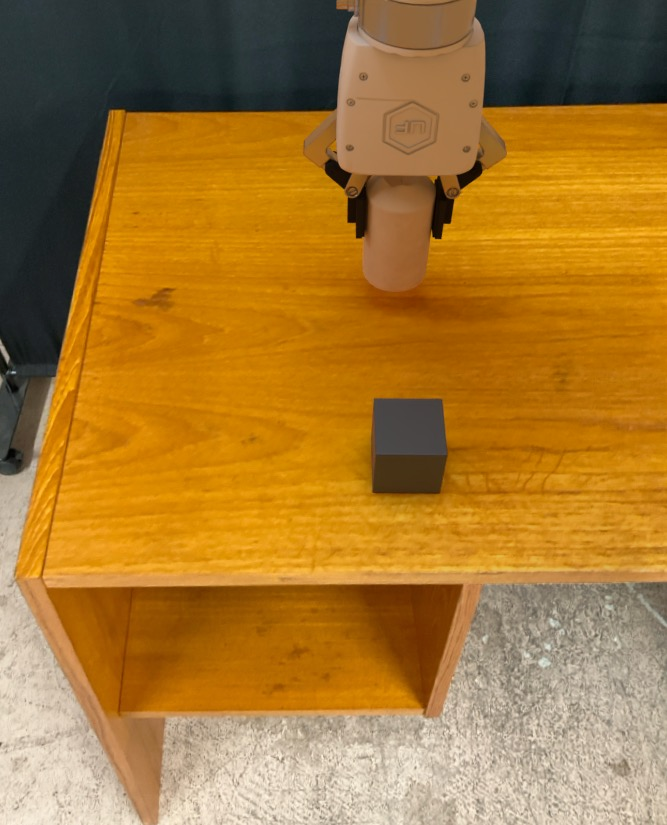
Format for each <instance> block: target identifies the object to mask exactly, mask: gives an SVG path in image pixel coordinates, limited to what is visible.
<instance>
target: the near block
mask: <svg viewBox="0 0 667 825" xmlns="http://www.w3.org/2000/svg"><path fill="white" fill-rule="evenodd" d="M443 401H444V400H443V398H401V397H400V398H399V397H398V398H397V397H395V398H393V397H392V398H390V397H389V398H388V397H387V398H386V397H385V398H382V397H379V398H378V397H374V398H373V401H372V402H373V404H372V418H371V431H370V432H371V433H370V446H371V447H370V452H371V453H370V454H371V458H370V459H371V460H370V461H371V491H372V493H376V494H377V493H385V494H386V493H387V494H389V493H391V494H392V493H393V494H403V493H404V494H440V493H441V489H442V485H443V484H442V483H443V479H444V475H445V470H446V465H447V460H448V456H449V455H448V443H447V434H446V422H445V412H444V402H443Z"/></svg>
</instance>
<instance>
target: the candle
mask: <svg viewBox="0 0 667 825" xmlns="http://www.w3.org/2000/svg"><path fill="white" fill-rule="evenodd" d="M435 198H436V187H435V184H434V181H433V180H432V179H431V178H430V176H384V175H373V176H372V177H371V178H370V179H369V180H368V182H367V184H366V218H365V237H363V238H362V240H363V242H362V244H363V245H362V272H363V276H364V278H365V279H366V281H367V282H369V284H370V285H371V286H373V287H374V288H377V289H378V290H381V291H384V292H390V293H391V292H392V293H402V292H406V291H410V290H412V289H415V288H416V287H418V286H419V285H420V284H421V283H422V282H423V280H424V279H425V276H426V273H427V267H428V260H429V254H430V246H431V238H432V222H433V214H434V206H435Z"/></svg>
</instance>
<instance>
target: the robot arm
mask: <svg viewBox="0 0 667 825" xmlns="http://www.w3.org/2000/svg"><path fill="white" fill-rule="evenodd" d="M477 2H478V0H336V7H335V8H336V10H347V12H353V15H352V17H351V18H350V20H349V21H348V25H347V30H346V34H345V38H344V43H343V46H342V47H343V48H342V53H341V60H340V70H339V77H338V87H337V89H338V90H337V102H336V103H337V106H336V108H335V109H334V110H333V111H332V112H331V113H330V114H329V115H328V116H327V117H326V118H325V119H323V121H322V122H321V123H320V124H319V125H318V126H316V128H315V129H314V130H313V131H311V133H309V135H308V136H307V137H306V138H305V139H304V140H303V148H302V154H303V156H304V157H305V158H306V159H308V160H309V161H310V162H311V163H312V164H314V165H316V166H317V167H318V168H320V169H322V170H323V171H324V173H325V175H326V176H327V177H328V178H330V179H331V180H332V181H333V182H335V183H336V184H337V185H338V186H339V187H340V188H342V189H343V191H344V195H345V197H347V205H346V208H347V210H346V223H347V224H355V239H357V240H359V239H360V240H361V239H362V240H363V238H364V237H365V218H366V179H367V177H368V175H384V176H428V177H436V178H434V181H433V183H434V184H435V187H436V198H435V206H434V214H433V222H432V230H431V238H434V240H442V238H443V232H444V225H451V224H452V219H453V213H454V205H455V200H456V199H458V198H459V197H460V196H461V194H462V192H461V191H462V190H463V189H465V188H466V187H467V186H468V185H470V184H471V183H473V182H474V181H476V180H477V179H478V178H480V177H481V176H482V175H483V172H484V171H485V170H489V169H490V168H492V167H493V166H496V165H497V164H498V163H499V162H501V161H503V160H504V159H505V158H506V157H507V155H508V150H507V146H506V141H505V140H504V139H503V138H502V136H501V135H500V134H499V133H498V132H497V131H496V130H495V128H494V127H493V126H492V125H491V123H490V122H489V121H488V120H487V118H486V117H485V116H484V115H483V106H484V98H485V97H484V96H485V95H484V94H485V80H486V40H485V32H484V30H483V28H482V24H481V23H480V21H479V20H478V19H477V18H476V10H477ZM334 142H335V143H336V150H333V149H332V148H331V147H330V146H331V145H332V144H334Z"/></svg>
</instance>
